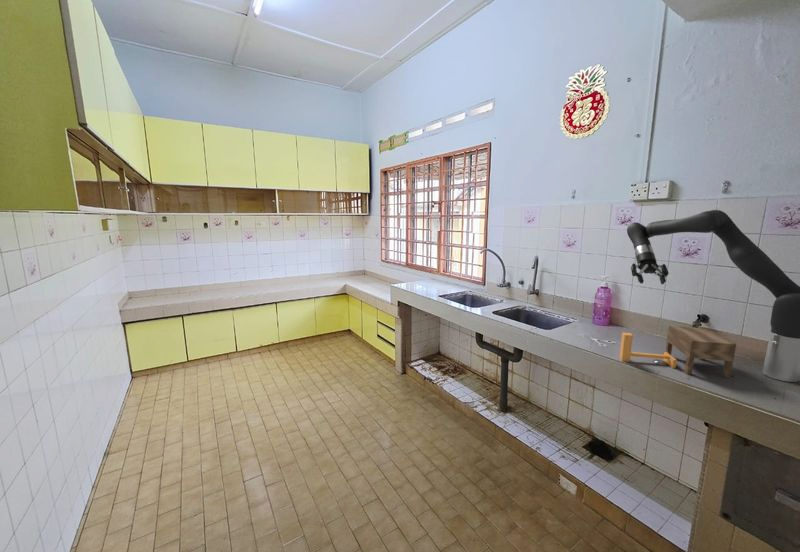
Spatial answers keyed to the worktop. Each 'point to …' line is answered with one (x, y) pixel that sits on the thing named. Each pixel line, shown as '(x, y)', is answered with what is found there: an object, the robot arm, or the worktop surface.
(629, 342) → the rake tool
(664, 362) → the steel token
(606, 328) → the worktop surface
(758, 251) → the robot arm
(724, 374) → the wooden footstool
